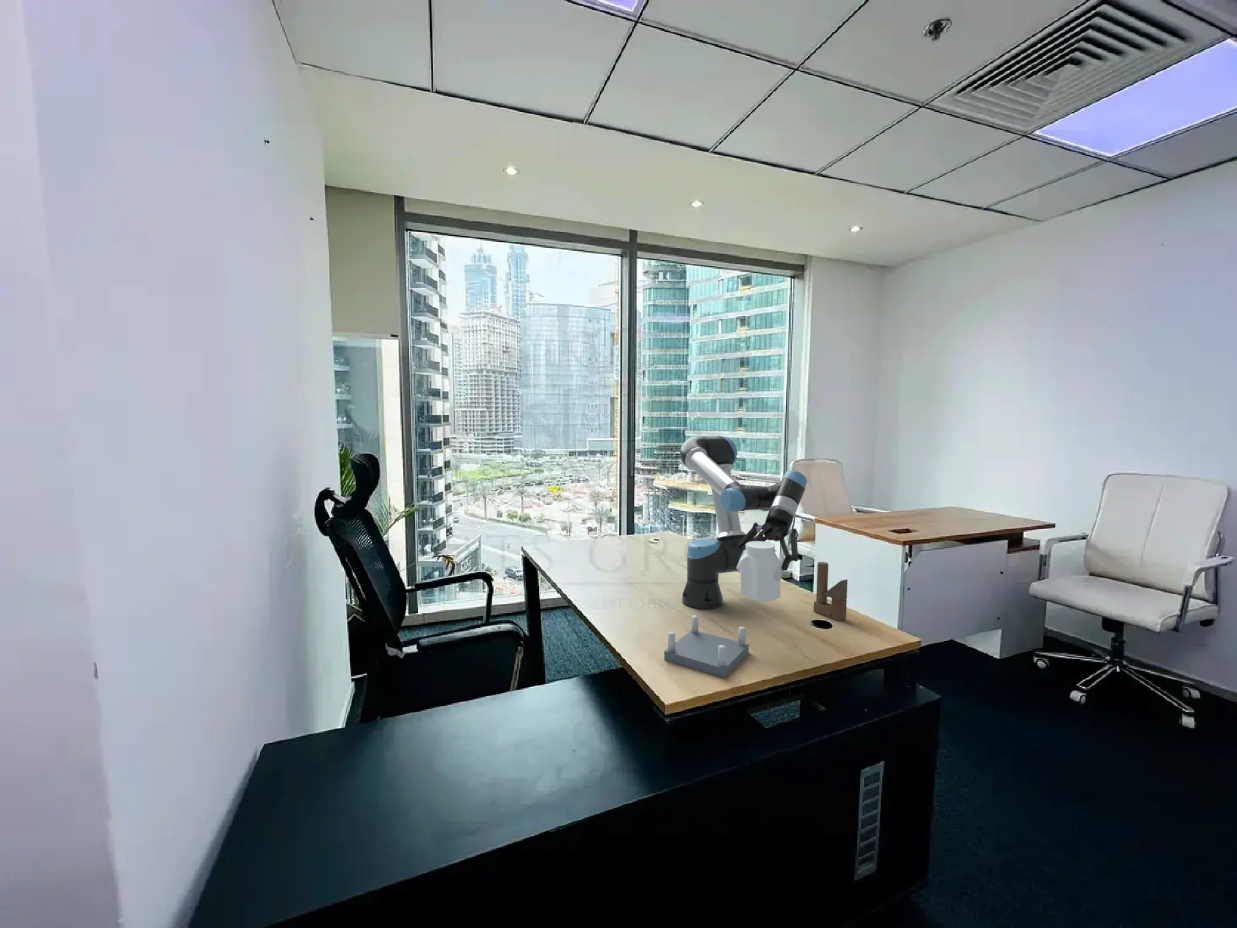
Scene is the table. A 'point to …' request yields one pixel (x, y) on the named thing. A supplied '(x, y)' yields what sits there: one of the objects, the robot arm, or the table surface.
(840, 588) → the wooden block
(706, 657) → the peg board
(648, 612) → the table surface
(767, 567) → the jar
